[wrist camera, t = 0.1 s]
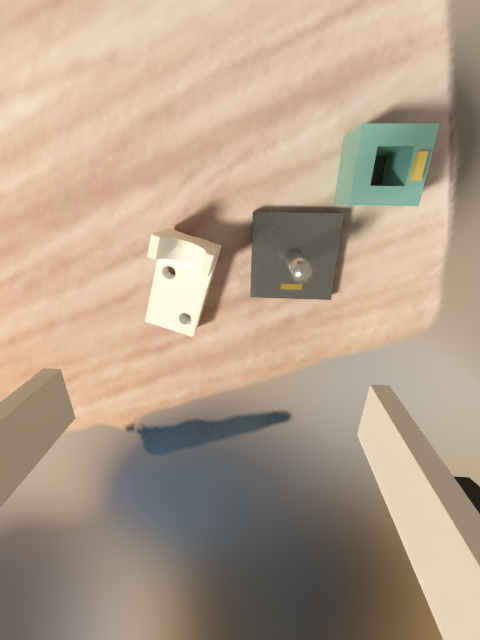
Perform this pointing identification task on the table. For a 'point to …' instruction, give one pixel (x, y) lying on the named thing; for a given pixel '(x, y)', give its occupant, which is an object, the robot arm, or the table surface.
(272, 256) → the shaft base
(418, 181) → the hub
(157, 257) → the bracket
